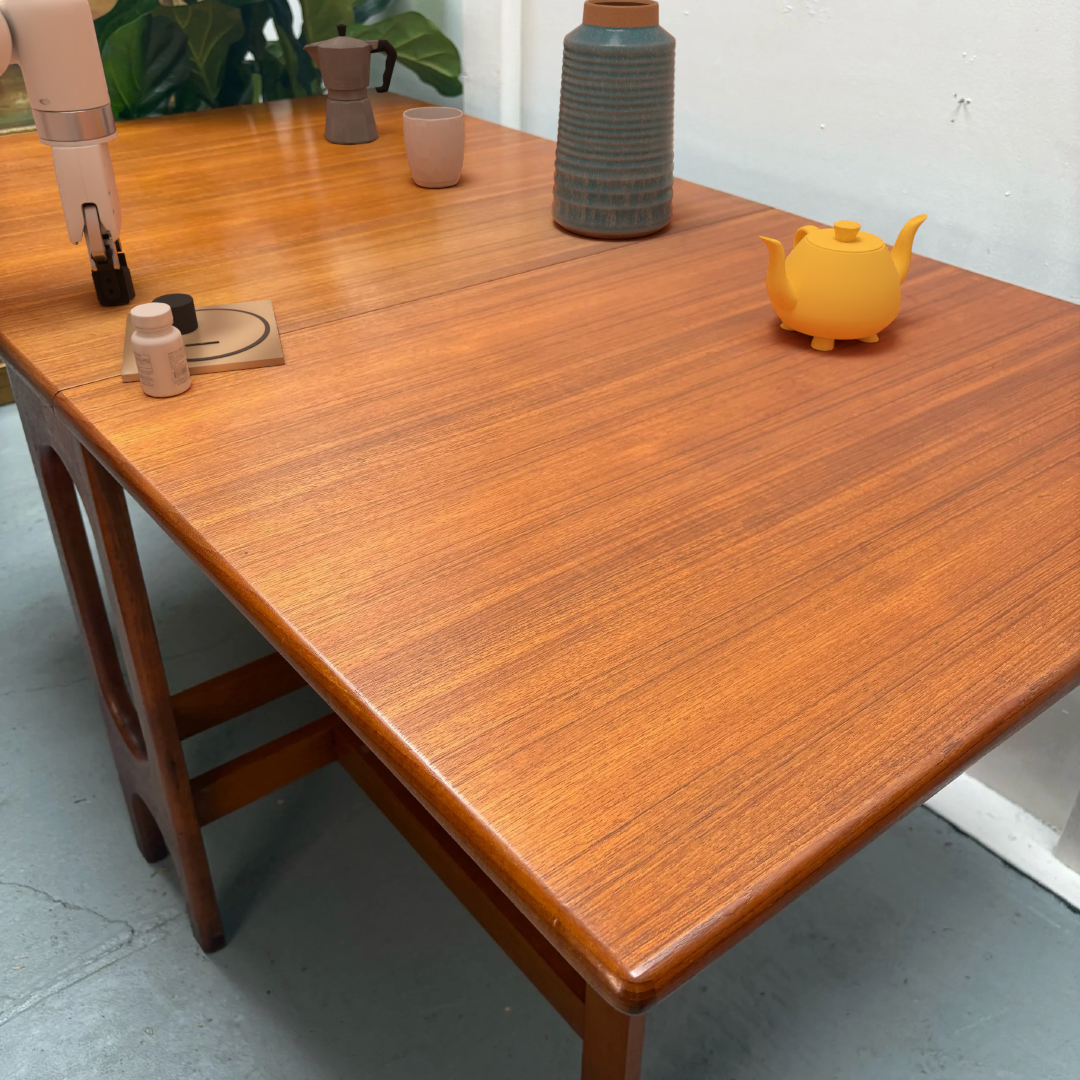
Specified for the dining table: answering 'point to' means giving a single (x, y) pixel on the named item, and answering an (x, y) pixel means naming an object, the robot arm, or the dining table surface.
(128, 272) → the dot
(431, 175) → the mug
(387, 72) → the coffeepot
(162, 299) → the dot
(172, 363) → the pill bottle
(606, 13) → the vase
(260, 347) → the board
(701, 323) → the dining table surface
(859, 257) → the teapot
